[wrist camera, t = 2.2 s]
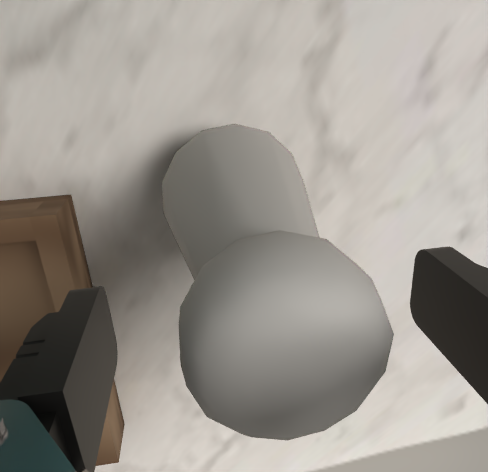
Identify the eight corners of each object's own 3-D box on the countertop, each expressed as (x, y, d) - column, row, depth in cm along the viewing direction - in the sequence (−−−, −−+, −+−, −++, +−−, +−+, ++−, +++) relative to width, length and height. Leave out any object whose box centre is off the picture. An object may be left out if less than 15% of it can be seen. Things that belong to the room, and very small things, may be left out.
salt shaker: (305, 134, 19) (507, 269, 7) (270, 246, 21) (384, 495, 9) (176, 101, 18) (168, 200, 6) (153, 224, 20) (111, 482, 8)
